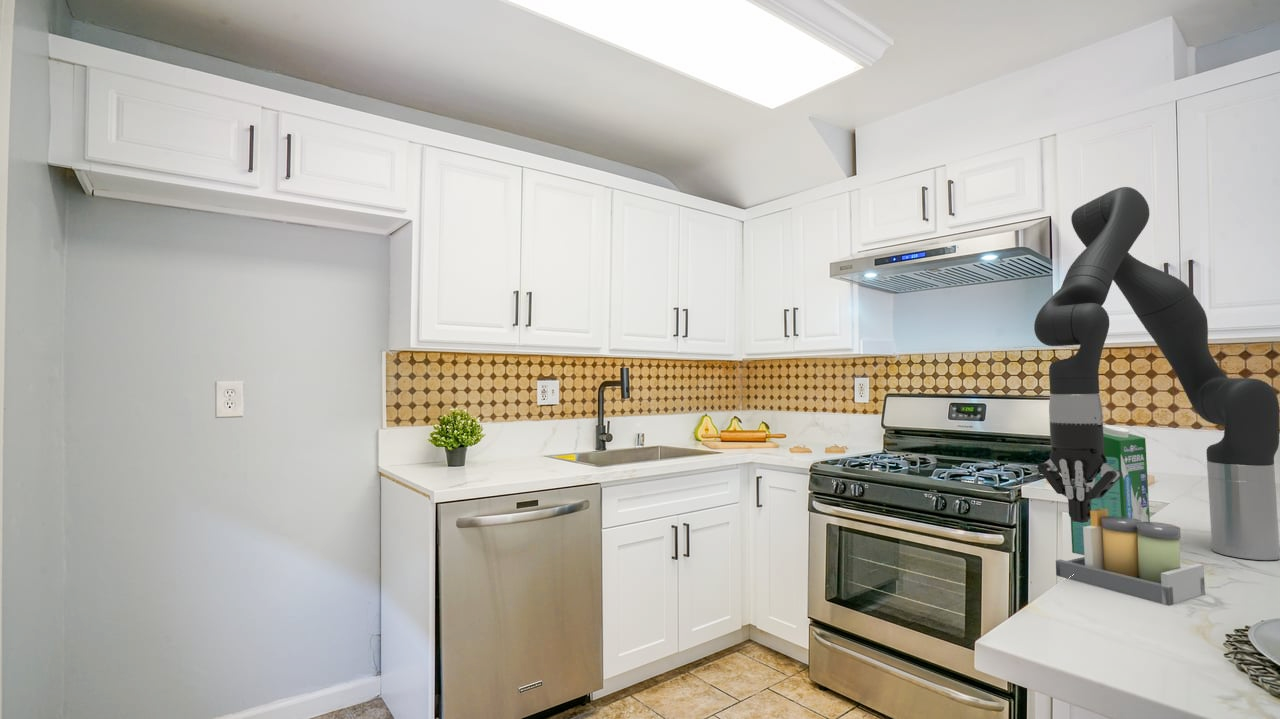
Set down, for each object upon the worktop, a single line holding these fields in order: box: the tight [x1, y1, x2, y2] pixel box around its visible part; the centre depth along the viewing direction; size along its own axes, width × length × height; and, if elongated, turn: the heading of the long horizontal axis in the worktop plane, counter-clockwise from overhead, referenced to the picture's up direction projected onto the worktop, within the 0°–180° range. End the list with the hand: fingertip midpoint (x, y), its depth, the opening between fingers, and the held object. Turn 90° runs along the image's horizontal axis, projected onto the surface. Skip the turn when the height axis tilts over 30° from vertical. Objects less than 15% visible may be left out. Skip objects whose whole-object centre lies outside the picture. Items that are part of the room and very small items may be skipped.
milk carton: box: [1070, 424, 1151, 556], centre depth 117 cm, size 9×9×25 cm
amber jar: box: [1101, 516, 1142, 578], centre depth 100 cm, size 5×5×10 cm
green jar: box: [1136, 521, 1181, 584], centre depth 96 cm, size 5×5×10 cm
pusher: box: [1083, 509, 1108, 570], centre depth 103 cm, size 7×1×11 cm, turn 115°
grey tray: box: [1055, 556, 1206, 606], centre depth 100 cm, size 10×16×5 cm, turn 25°
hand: (1080, 521), depth 106 cm, fingers closed
